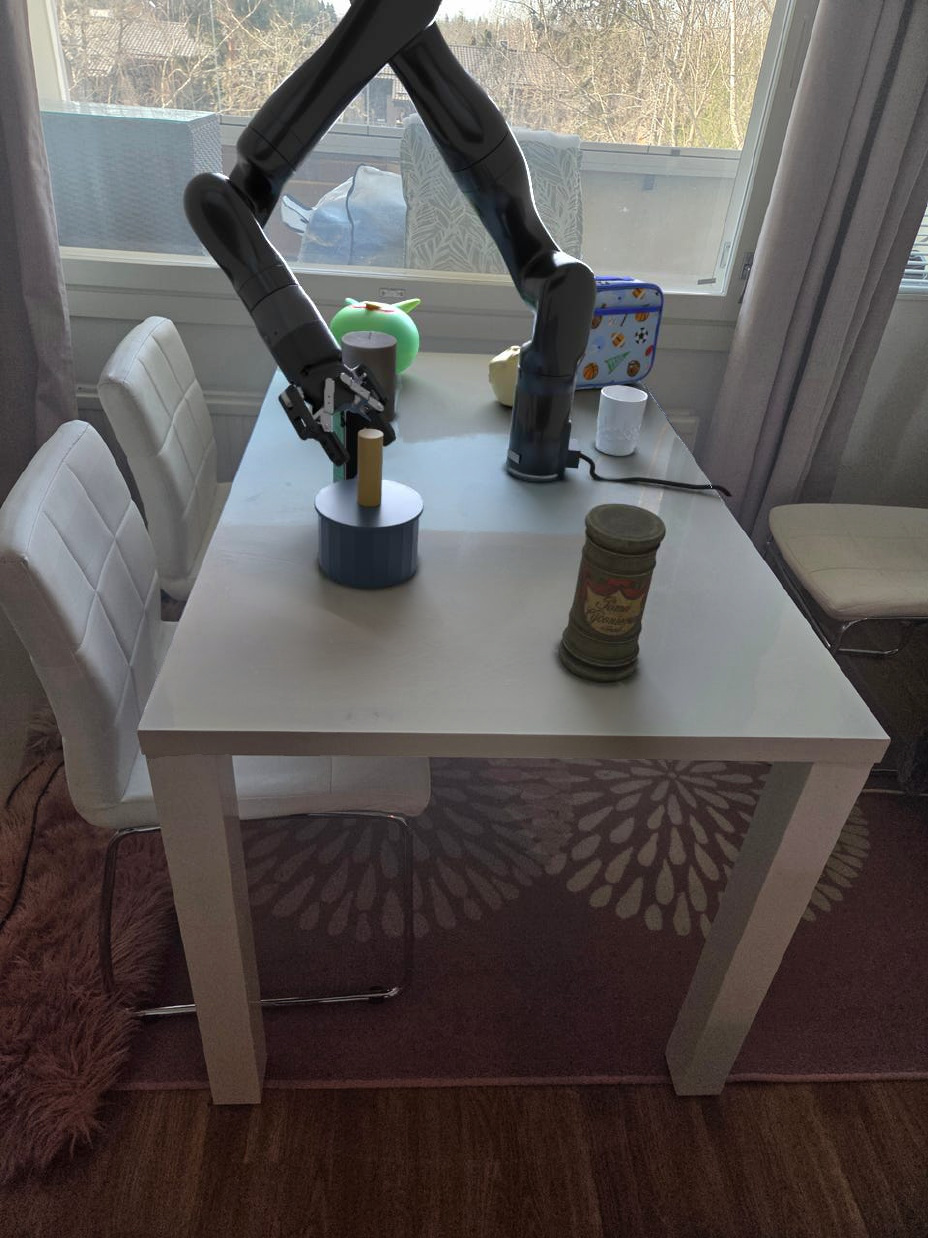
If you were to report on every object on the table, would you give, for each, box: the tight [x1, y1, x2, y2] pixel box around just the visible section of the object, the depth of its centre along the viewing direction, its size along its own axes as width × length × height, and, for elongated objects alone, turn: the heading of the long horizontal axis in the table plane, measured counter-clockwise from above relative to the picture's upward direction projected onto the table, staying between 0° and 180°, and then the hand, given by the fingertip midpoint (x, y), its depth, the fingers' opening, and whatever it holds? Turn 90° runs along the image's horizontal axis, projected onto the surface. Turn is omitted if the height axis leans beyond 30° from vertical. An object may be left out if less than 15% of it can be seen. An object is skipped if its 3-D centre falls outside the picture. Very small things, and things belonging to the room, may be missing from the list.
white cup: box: [595, 385, 649, 457], centre depth 149 cm, size 8×8×10 cm
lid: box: [313, 429, 425, 532], centre depth 105 cm, size 14×14×10 cm
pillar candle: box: [341, 331, 397, 423], centre depth 151 cm, size 10×10×15 cm
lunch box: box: [531, 275, 665, 391], centre depth 173 cm, size 28×10×22 cm, turn 115°
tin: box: [317, 513, 420, 590], centre depth 110 cm, size 13×13×8 cm
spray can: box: [332, 367, 372, 484], centre depth 121 cm, size 6×6×20 cm
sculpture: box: [487, 345, 521, 407], centre depth 164 cm, size 12×12×11 cm
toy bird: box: [328, 297, 421, 375], centre depth 170 cm, size 18×17×15 cm
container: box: [558, 502, 667, 683], centre depth 94 cm, size 9×9×18 cm
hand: (368, 452), depth 104 cm, fingers open, 8 cm apart
